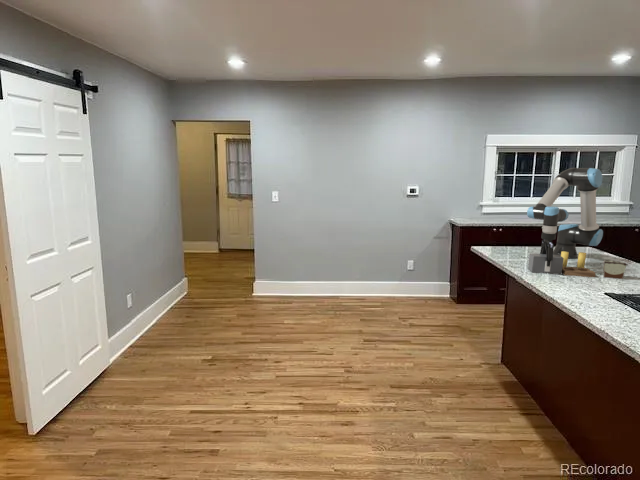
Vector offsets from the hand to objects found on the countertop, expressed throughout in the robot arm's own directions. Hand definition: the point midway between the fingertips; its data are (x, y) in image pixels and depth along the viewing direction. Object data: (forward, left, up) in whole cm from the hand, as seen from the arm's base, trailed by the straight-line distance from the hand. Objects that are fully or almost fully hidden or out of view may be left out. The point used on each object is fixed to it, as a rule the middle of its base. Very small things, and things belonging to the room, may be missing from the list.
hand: (544, 269), depth 256 cm
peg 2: (-15, +25, -1) cm, 30 cm away
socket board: (0, +17, -1) cm, 18 cm away
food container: (+3, +35, -2) cm, 36 cm away
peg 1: (-15, +15, -1) cm, 22 cm away
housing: (0, 0, -1) cm, 1 cm away
